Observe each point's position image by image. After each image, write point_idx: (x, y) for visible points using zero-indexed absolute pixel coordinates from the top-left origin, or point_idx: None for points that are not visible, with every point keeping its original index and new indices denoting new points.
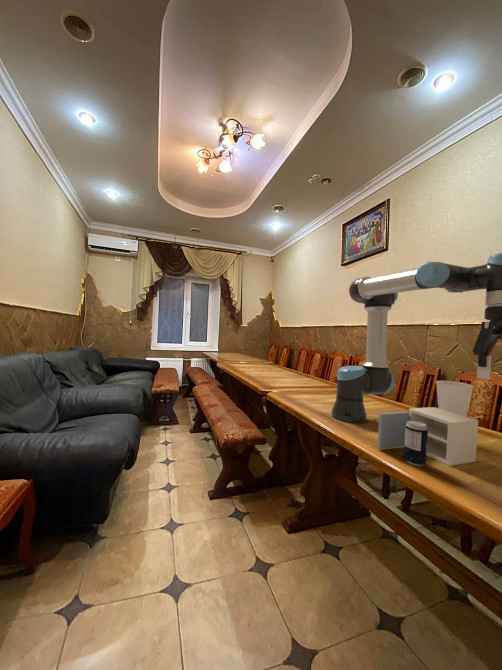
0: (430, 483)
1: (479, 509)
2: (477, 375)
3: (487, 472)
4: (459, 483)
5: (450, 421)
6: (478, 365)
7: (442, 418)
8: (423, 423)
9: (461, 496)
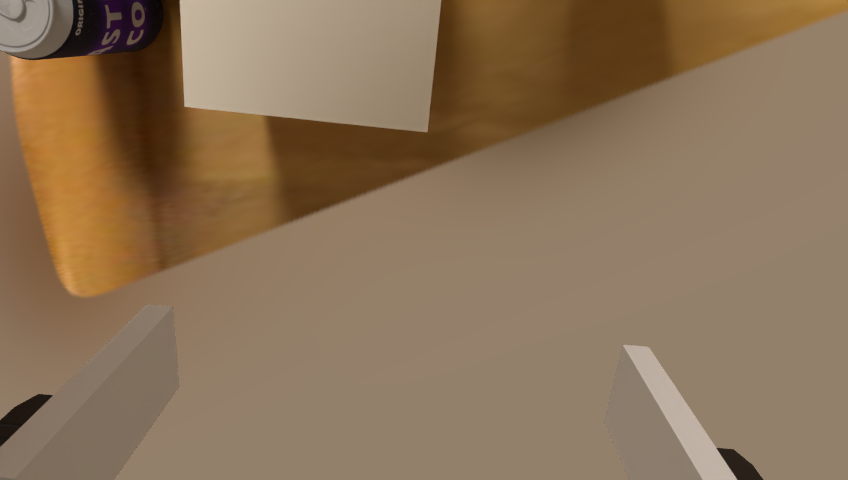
0: (53, 135)
1: (83, 265)
2: (136, 318)
3: (363, 168)
4: (164, 172)
5: (196, 92)
6: (28, 404)
7: (204, 35)
8: (50, 14)
9: (92, 215)
